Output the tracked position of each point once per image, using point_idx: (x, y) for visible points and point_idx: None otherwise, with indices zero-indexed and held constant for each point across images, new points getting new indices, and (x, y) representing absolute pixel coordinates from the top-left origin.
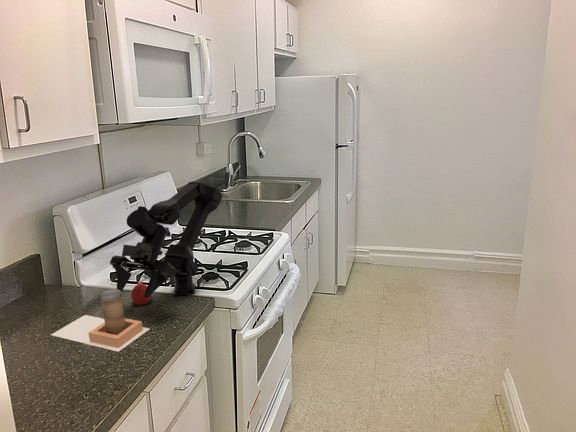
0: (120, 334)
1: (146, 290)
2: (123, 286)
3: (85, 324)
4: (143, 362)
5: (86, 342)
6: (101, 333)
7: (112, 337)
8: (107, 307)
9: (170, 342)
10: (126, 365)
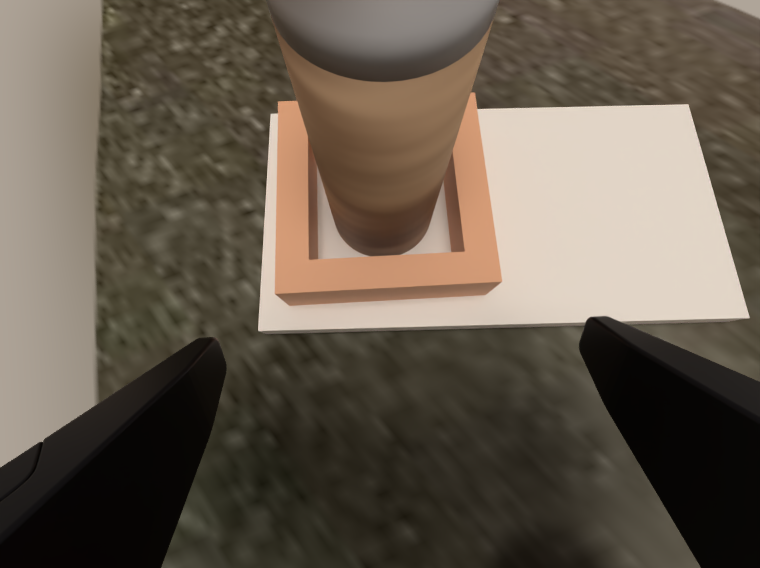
0: (293, 136)
1: (161, 380)
2: (640, 442)
3: (635, 235)
4: (145, 129)
5: None
6: None
7: None
8: None
9: (108, 295)
10: (201, 92)
